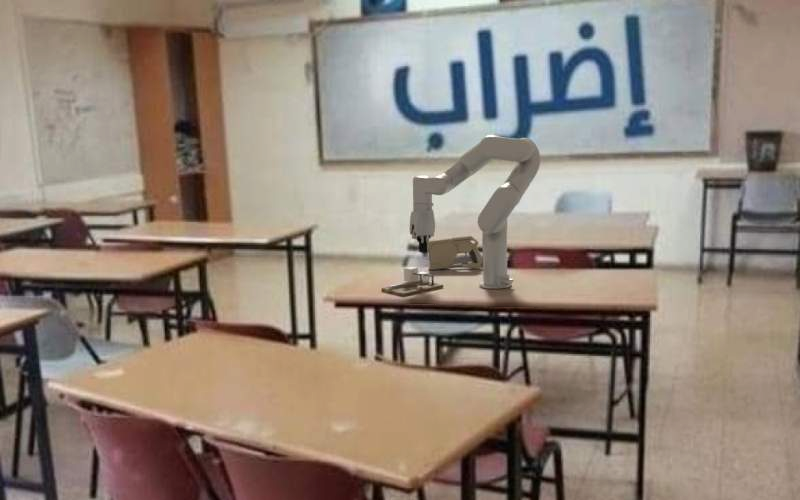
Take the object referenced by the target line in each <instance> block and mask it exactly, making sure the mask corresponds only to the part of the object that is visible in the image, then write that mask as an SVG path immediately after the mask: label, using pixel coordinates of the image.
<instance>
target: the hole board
mask: <svg viewBox="0 0 800 500" xmlns="http://www.w3.org/2000/svg"><path fill="white" fill-rule="evenodd" d="M443 288H444V284H441V283H437V282H434V284H432V281H430V282H428V283H424V284H422V286H420V284H415V285H410V286H406V287H401V288H396V289H391V290H390V289H388V286H386V287H382V288H381V292H383V293H387V294H392V295H395V296H400V297H408V296H413V295H418V294H422V293H426V292H431V291H436V290H441V289H443Z"/></svg>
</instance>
